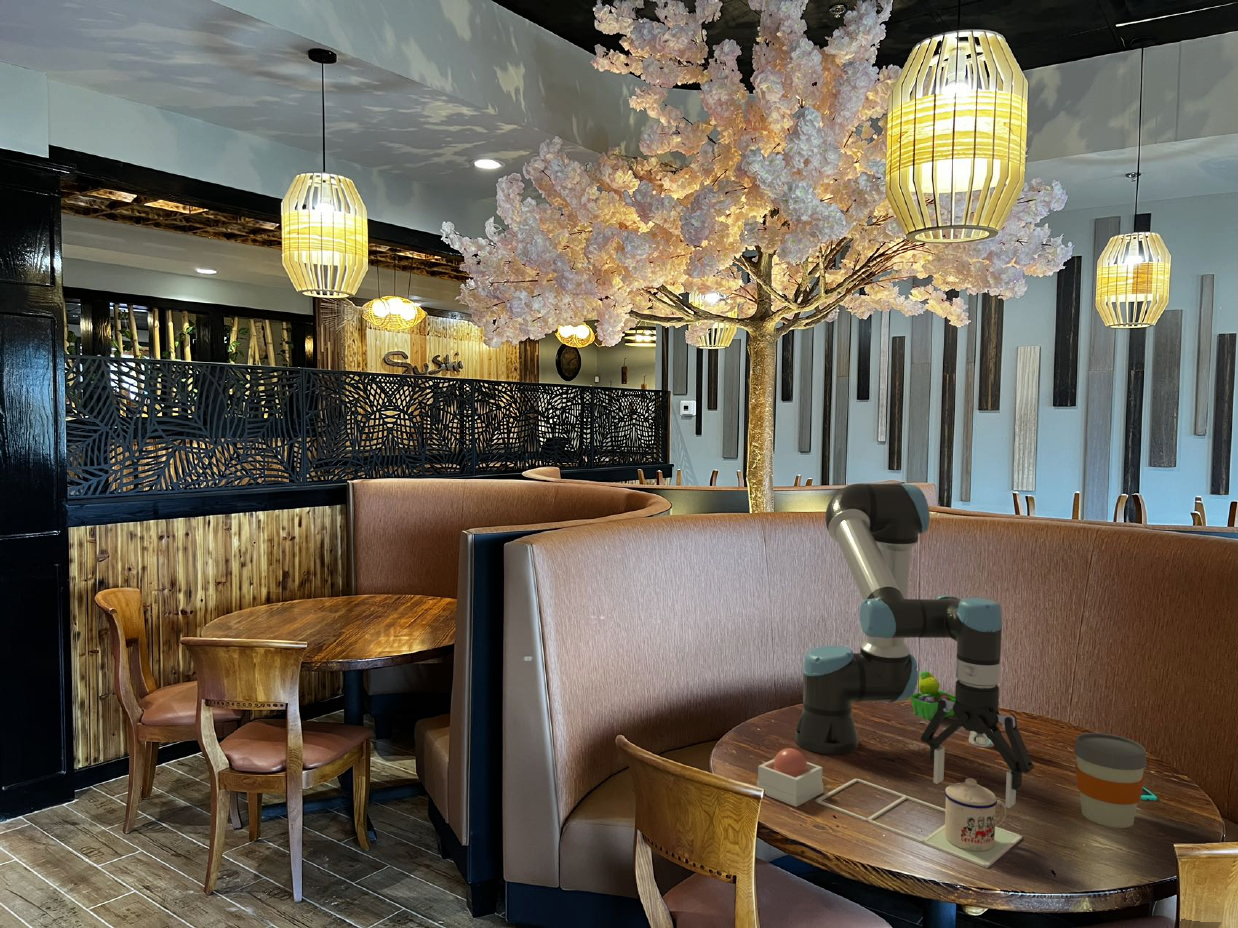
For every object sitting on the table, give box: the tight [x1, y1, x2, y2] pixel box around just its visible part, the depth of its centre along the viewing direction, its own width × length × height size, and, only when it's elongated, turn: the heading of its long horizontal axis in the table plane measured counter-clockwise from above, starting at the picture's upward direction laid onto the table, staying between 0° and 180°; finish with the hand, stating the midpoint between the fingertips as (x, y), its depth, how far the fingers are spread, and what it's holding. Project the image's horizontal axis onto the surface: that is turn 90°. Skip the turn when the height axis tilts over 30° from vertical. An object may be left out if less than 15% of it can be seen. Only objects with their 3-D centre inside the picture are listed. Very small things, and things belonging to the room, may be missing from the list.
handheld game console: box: [1141, 786, 1158, 801], centre depth 184 cm, size 10×16×1 cm, turn 178°
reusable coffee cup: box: [1073, 732, 1148, 829], centre depth 168 cm, size 13×13×15 cm
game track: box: [814, 777, 1023, 869], centre depth 166 cm, size 35×16×1 cm, turn 44°
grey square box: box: [756, 758, 824, 808], centre depth 178 cm, size 10×10×6 cm
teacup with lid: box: [944, 777, 1007, 851], centre depth 157 cm, size 12×9×12 cm
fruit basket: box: [909, 670, 956, 721], centre depth 228 cm, size 11×9×11 cm
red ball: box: [773, 747, 808, 778], centre depth 178 cm, size 7×7×7 cm
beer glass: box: [968, 683, 999, 749], centre depth 207 cm, size 7×7×15 cm
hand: (973, 793), depth 158 cm, fingers open, 13 cm apart
